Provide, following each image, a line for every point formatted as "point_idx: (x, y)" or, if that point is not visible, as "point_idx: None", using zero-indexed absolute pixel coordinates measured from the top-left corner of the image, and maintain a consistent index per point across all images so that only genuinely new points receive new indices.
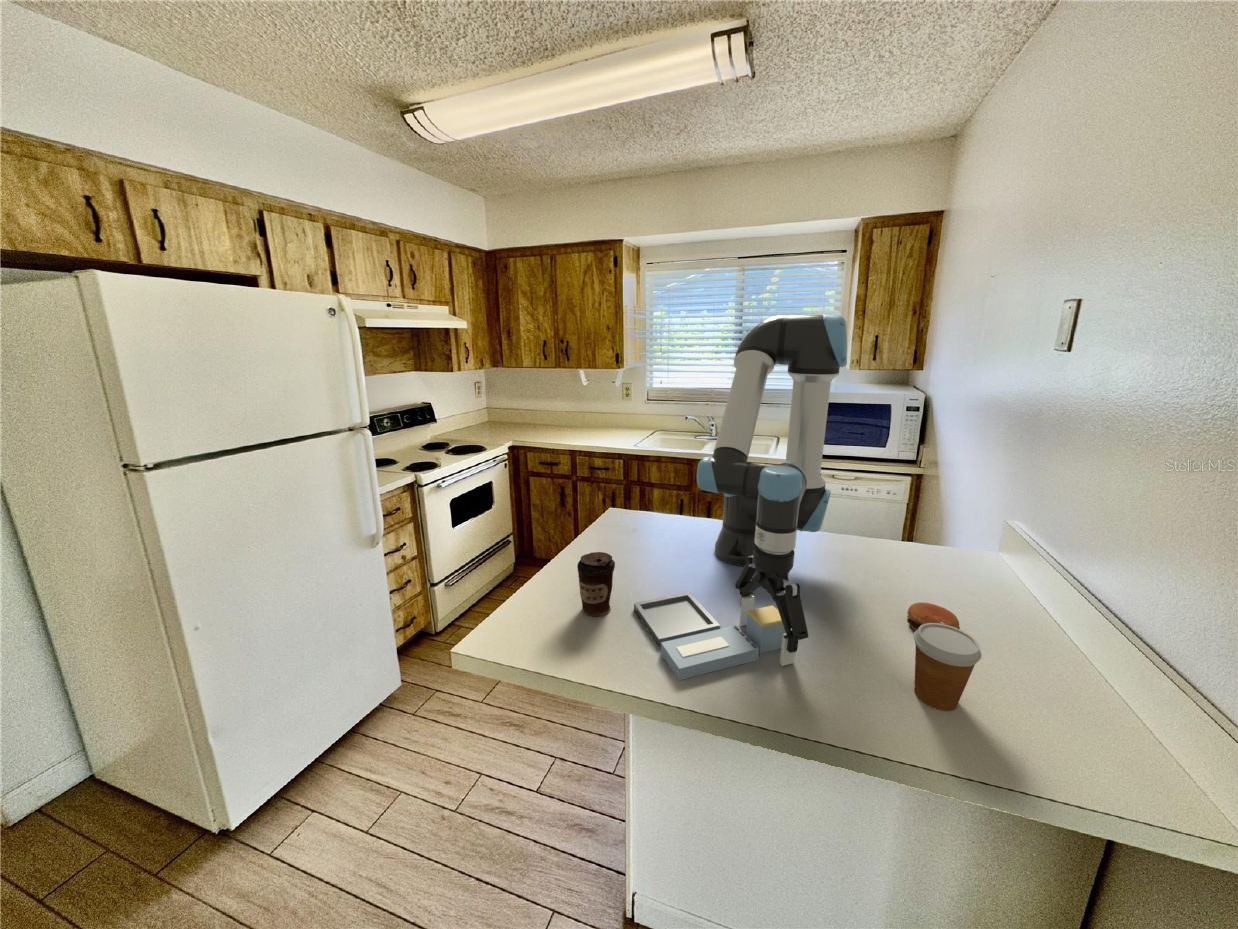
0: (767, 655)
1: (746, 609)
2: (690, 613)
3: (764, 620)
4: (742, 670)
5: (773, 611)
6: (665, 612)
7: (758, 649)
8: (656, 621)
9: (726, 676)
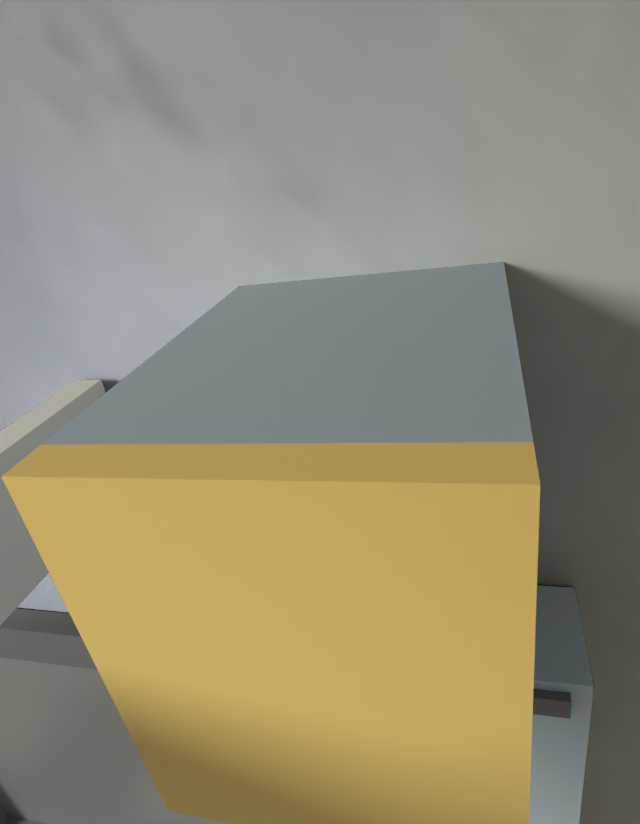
0: (554, 494)
1: (12, 553)
2: (25, 688)
3: (437, 818)
4: (630, 720)
5: (207, 581)
6: (30, 764)
7: (591, 681)
8: (109, 821)
9: (633, 803)
